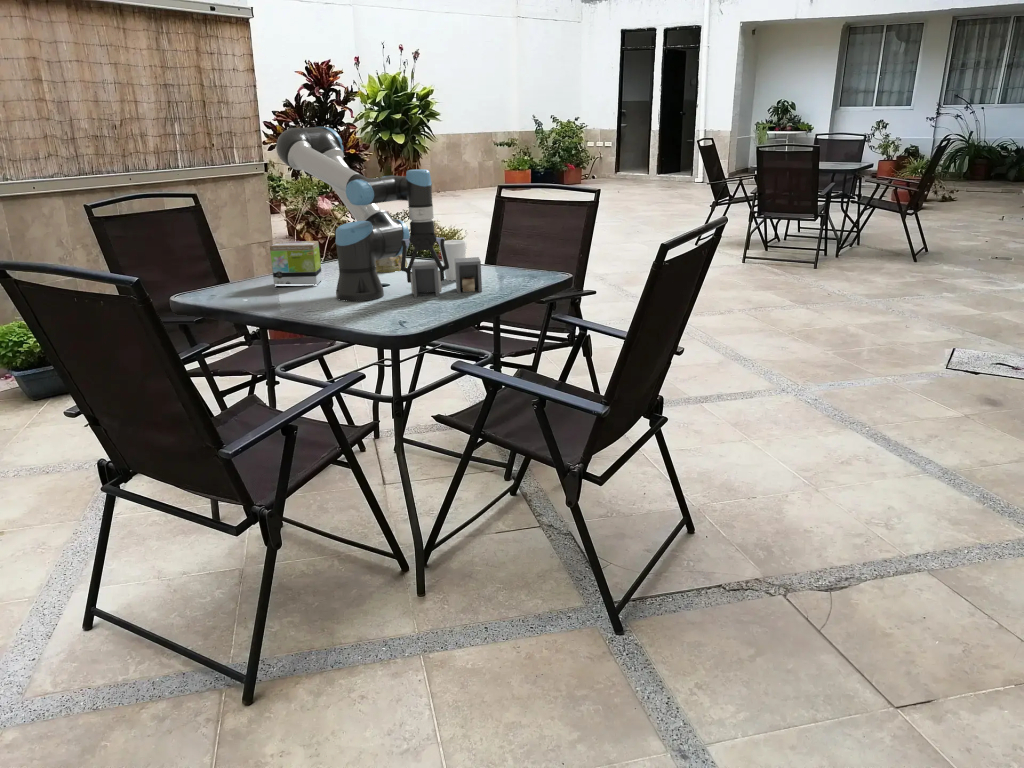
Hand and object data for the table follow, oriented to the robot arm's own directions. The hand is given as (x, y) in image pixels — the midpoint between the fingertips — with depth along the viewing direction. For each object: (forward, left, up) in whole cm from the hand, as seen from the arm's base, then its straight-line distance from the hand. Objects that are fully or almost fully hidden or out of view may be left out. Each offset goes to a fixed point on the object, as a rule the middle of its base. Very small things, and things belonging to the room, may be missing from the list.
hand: (426, 291), depth 252 cm
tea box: (-53, 0, -1) cm, 53 cm away
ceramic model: (-38, +35, -1) cm, 51 cm away
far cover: (+10, +10, -1) cm, 14 cm away
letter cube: (+10, +10, -1) cm, 14 cm away
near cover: (0, 0, -1) cm, 1 cm away
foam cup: (-4, +25, -1) cm, 25 cm away
